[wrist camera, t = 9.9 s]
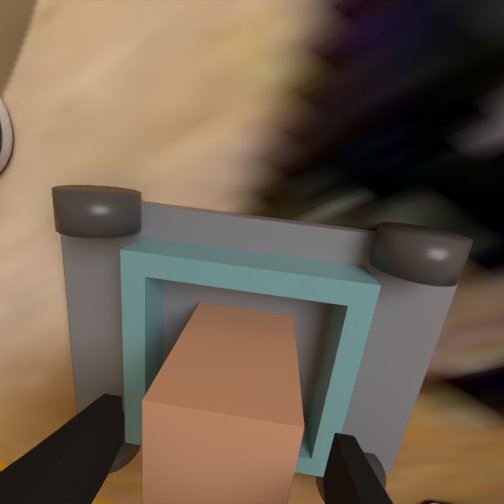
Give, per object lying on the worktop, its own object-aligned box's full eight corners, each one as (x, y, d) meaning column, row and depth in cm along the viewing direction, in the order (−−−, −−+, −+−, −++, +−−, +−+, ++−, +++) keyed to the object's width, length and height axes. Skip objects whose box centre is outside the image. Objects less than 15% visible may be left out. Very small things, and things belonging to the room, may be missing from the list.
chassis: (463, 230, 12) (524, 252, 9) (382, 464, 16) (406, 531, 13) (68, 181, 13) (6, 185, 10) (86, 413, 17) (46, 465, 14)
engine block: (293, 315, 13) (304, 427, 8) (279, 391, 15) (280, 536, 9) (200, 301, 14) (142, 400, 8) (194, 378, 15) (142, 510, 9)
